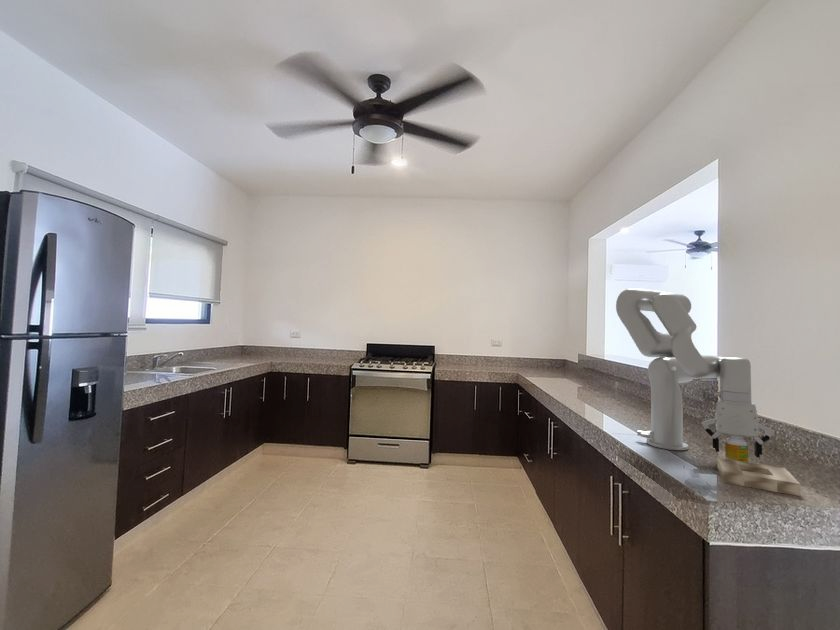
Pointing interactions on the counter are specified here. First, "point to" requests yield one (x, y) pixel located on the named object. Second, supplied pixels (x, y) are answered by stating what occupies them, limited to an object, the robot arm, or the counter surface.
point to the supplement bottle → (736, 448)
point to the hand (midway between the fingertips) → (736, 453)
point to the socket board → (758, 476)
